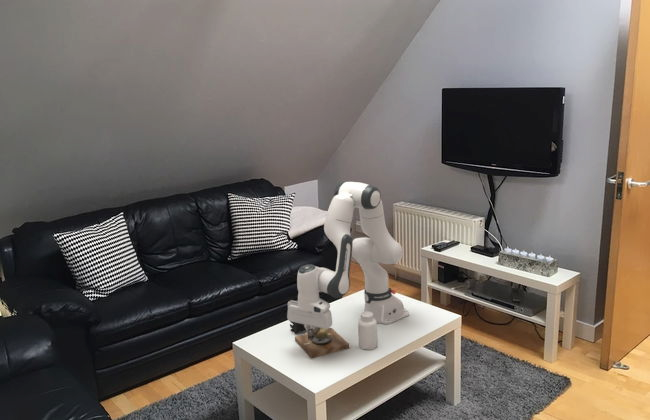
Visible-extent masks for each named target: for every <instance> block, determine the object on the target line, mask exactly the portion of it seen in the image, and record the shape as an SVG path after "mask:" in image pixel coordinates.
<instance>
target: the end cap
mask: <svg viewBox="0 0 650 420" xmlns="http://www.w3.org/2000/svg"><path fill="white" fill-rule="evenodd" d="M289 322H290V323H289V327H290V331H291V332H292V333H294V334H295V335H296V334H298V333H302V332H305V331H307V330H306V329H305V327H304V324H300V323H296V322H291V321H289ZM309 327H310V325H309ZM310 329H311V328H310Z"/></svg>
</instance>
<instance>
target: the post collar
mask: <svg viewBox="0 0 650 420" xmlns="http://www.w3.org/2000/svg"><path fill="white" fill-rule="evenodd" d="M328 333H329V332H328ZM331 341H332V337H326V338H323V339H318V338H316V337H314V338H313V339H312V340H311V342H312V343H313V344H315V345H326V344H329V343H330V342H331Z"/></svg>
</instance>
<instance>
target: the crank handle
mask: <svg viewBox="0 0 650 420" xmlns="http://www.w3.org/2000/svg"><path fill="white" fill-rule="evenodd" d="M306 334H308V340H312V339H313V338H314V337H316V338H318V339H323V338H326V337H332V334H330V333H328V329H324V328H319V327H314V329H308V330H306Z"/></svg>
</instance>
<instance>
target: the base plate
mask: <svg viewBox="0 0 650 420" xmlns="http://www.w3.org/2000/svg"><path fill="white" fill-rule="evenodd" d="M328 332H329V333H330V334H332V341H331V342H330V343H329V344H326V345H315V344H313V343H312V342H311V340H308V334H307V333H304V334H300V335H295V336H294V341H295V343H297V345H298V346H299V347H300V348H301V349H302V350H303V351H304V353H305V354H307V356H308V357H309V359H315V358H318V357H322V356H325V355H330V354H333V353H337V352H340V351H341V352H342V351H344V350H345V351H346V350H348V349H350V343H349V342H348V341H347V340H345V339H344V338H343V337H342V336H341V335H340V334H339V333H338V332H337V331H336V330H334V328H332V327H330V328H328Z"/></svg>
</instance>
